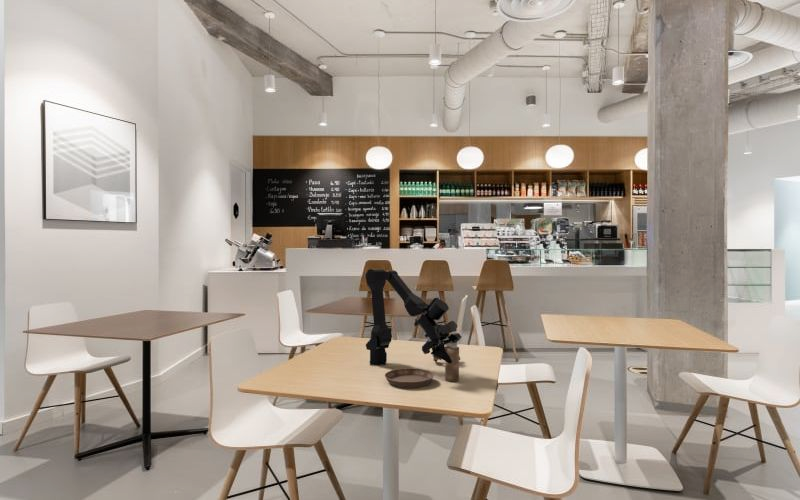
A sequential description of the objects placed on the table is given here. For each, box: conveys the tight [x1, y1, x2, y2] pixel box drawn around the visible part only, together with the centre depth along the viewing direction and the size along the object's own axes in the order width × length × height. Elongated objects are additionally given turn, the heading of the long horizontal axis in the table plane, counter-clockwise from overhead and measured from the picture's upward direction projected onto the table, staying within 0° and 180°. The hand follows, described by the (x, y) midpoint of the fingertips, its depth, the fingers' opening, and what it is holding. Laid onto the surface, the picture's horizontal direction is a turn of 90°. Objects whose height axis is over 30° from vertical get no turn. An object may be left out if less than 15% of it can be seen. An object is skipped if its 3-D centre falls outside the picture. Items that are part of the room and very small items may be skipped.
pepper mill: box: [444, 342, 460, 383], centre depth 175 cm, size 5×5×14 cm
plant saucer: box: [384, 367, 434, 389], centre depth 173 cm, size 18×18×3 cm
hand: (455, 361), depth 174 cm, fingers closed on pepper mill, 5 cm apart
